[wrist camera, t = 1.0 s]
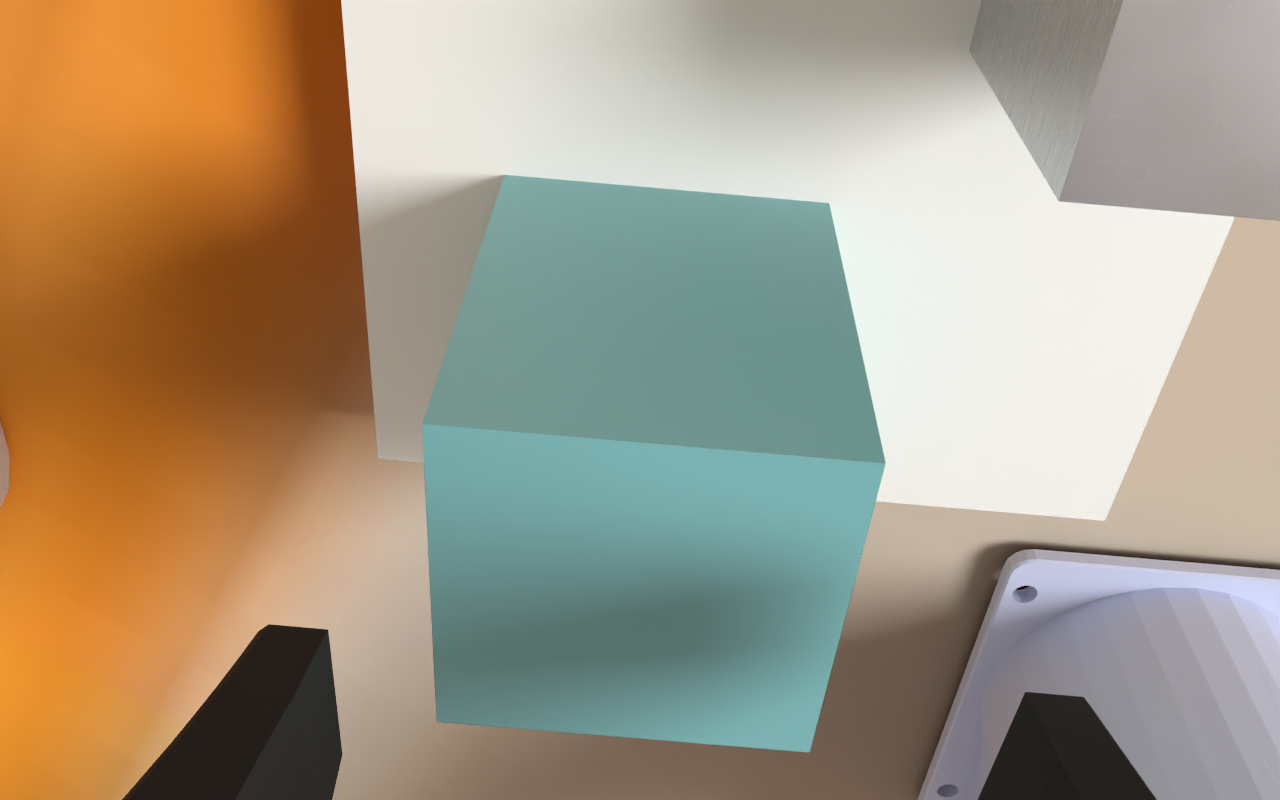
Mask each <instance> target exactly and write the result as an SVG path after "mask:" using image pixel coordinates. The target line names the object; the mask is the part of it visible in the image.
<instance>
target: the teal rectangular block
mask: <svg viewBox="0 0 1280 800" xmlns="http://www.w3.org/2000/svg"><path fill="white" fill-rule="evenodd" d="M422 434H423V455H424V475H425V495H426V515H427V536H428V556H429V576H430V597H431V617H432V637H433V657H434V678H435V698H436V718H437V722H444V723H457V724H469V725H481V726H493V727H505V728H517V729H530V730H542V731H554V732H566V733H578V734H590V735H603V736H615V737H627V738H639V739H651V740H663V741H676V742H688V743H700V744H712V745H724V746H737V747H749V748H761V749H773V750H785V751H797V752H810V749H811V745H812V741H813V738H814V734H815V730H816V726H817V723H818V719H819V715H820V711H821V707H822V704H823V700H824V696H825V692H826V688H827V685H828V681H829V677H830V673H831V669H832V666H833V662H834V658H835V654H836V650H837V647H838V643H839V639H840V635H841V631H842V628H843V624H844V620H845V616H846V612H847V609H848V605H849V601H850V597H851V593H852V590H853V586H854V582H855V578H856V574H857V571H858V567H859V563H860V559H861V555H862V552H863V548H864V544H865V540H866V536H867V533H868V529H869V525H870V521H871V518H872V514H873V510H874V506H875V502H876V499H877V495H878V491H879V487H880V483H881V480H882V476H883V472H884V468H885V464H886V462H885V458H884V453H883V449H882V444H881V439H880V435H879V430H878V426H877V421H876V416H875V412H874V407H873V402H872V398H871V393H870V389H869V384H868V379H867V375H866V370H865V366H864V361H863V356H862V352H861V347H860V343H859V338H858V333H857V329H856V324H855V319H854V315H853V310H852V306H851V301H850V296H849V292H848V287H847V283H846V278H845V273H844V269H843V264H842V260H841V255H840V250H839V246H838V241H837V236H836V232H835V227H834V223H833V218H832V213H831V209H830V204H829V203H823V202H812V201H800V200H789V199H777V198H766V197H754V196H743V195H732V194H720V193H709V192H697V191H686V190H674V189H663V188H651V187H640V186H629V185H617V184H606V183H594V182H583V181H571V180H560V179H548V178H537V177H525V176H514V175H504V178H503V181H502V184H501V187H500V190H499V193H498V196H497V199H496V202H495V205H494V208H493V211H492V214H491V217H490V220H489V223H488V226H487V229H486V232H485V235H484V238H483V241H482V244H481V247H480V250H479V253H478V256H477V259H476V262H475V266H474V269H473V272H472V275H471V278H470V281H469V284H468V287H467V290H466V293H465V296H464V299H463V302H462V305H461V308H460V311H459V314H458V317H457V320H456V323H455V326H454V329H453V332H452V335H451V338H450V341H449V344H448V347H447V350H446V353H445V356H444V359H443V362H442V365H441V368H440V371H439V374H438V377H437V380H436V383H435V386H434V389H433V392H432V395H431V398H430V401H429V404H428V407H427V410H426V413H425V417H424V420H423V423H422Z"/></svg>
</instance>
